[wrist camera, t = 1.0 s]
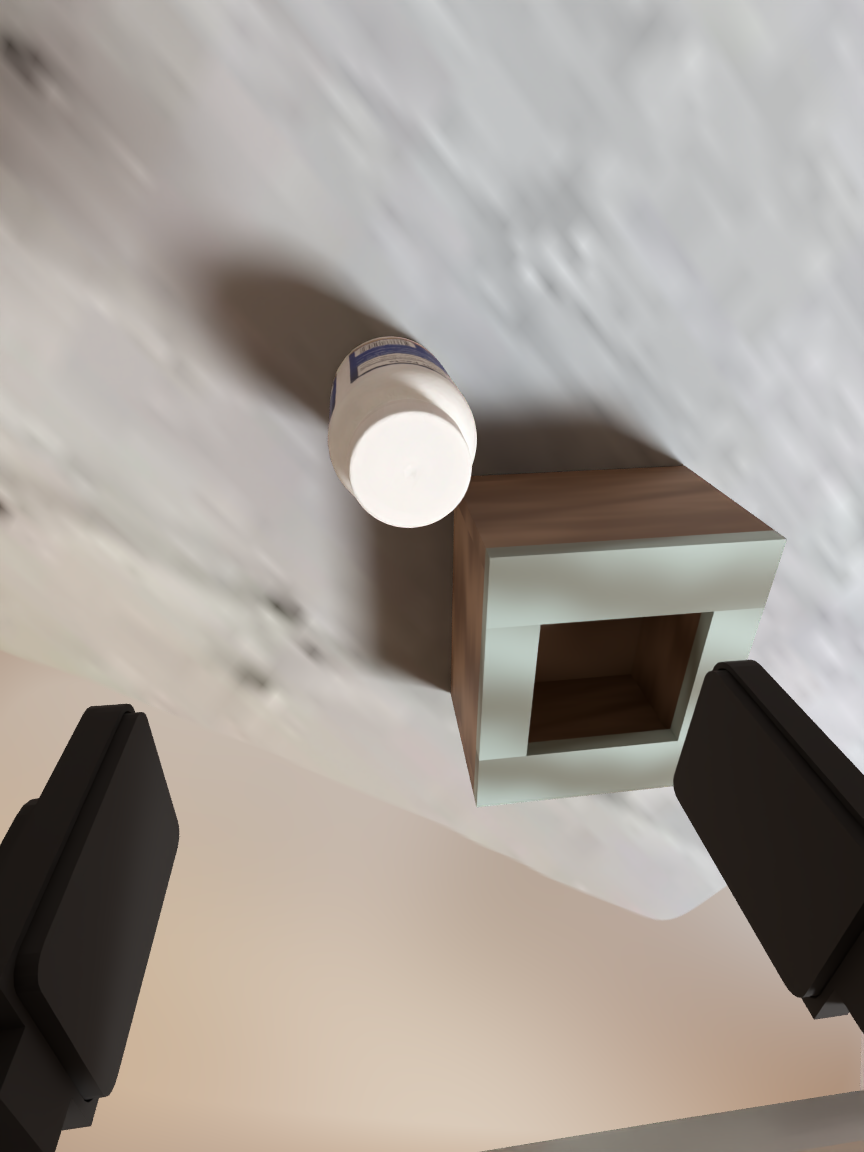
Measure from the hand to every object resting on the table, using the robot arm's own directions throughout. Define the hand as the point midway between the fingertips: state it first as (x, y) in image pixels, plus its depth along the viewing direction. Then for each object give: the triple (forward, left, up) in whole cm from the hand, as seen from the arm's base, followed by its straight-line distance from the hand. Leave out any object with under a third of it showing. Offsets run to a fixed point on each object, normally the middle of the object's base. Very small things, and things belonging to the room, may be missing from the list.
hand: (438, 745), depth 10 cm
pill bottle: (-1, +1, -21) cm, 21 cm away
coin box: (+10, +10, -21) cm, 25 cm away
